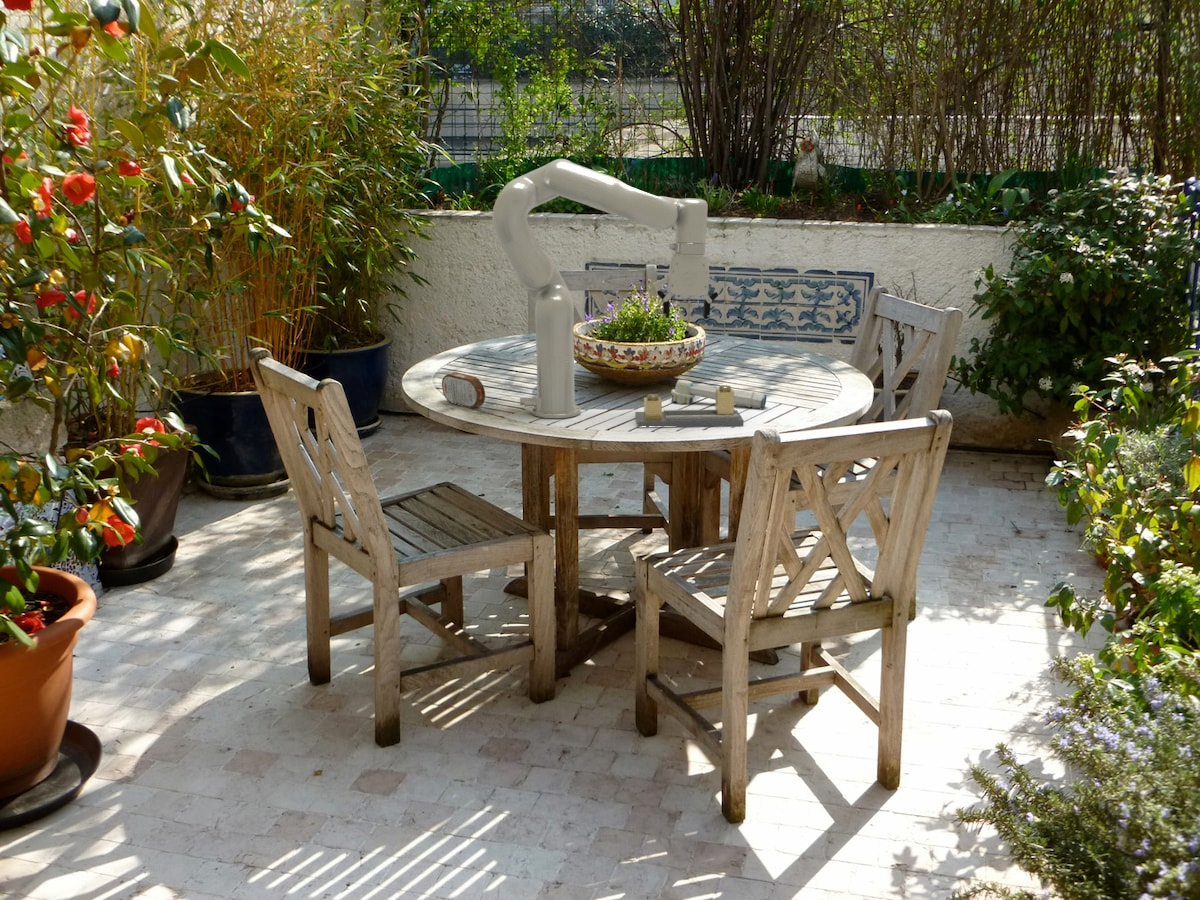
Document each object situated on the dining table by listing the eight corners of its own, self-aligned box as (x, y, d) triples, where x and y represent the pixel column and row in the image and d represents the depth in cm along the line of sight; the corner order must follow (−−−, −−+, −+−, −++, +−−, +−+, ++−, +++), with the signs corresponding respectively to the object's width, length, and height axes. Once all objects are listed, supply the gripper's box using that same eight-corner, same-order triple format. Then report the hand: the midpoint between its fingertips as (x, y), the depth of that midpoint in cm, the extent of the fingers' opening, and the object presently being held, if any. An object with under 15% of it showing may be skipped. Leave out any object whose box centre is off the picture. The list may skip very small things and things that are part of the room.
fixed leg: (645, 418, 293) (645, 397, 291) (644, 414, 296) (644, 393, 295) (661, 418, 293) (661, 396, 291) (659, 414, 297) (660, 393, 295)
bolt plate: (638, 427, 290) (638, 418, 289) (635, 417, 300) (635, 408, 299) (743, 426, 291) (743, 417, 291) (736, 415, 301) (737, 407, 300)
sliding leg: (717, 415, 293) (718, 388, 291) (715, 412, 297) (715, 384, 295) (733, 415, 294) (734, 388, 292) (731, 411, 297) (731, 384, 295)
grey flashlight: (764, 396, 305) (671, 377, 312) (759, 421, 307) (668, 401, 314) (767, 392, 310) (676, 373, 316) (763, 416, 312) (673, 397, 318)
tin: (486, 409, 309) (485, 377, 307) (477, 411, 307) (476, 379, 305) (449, 399, 319) (448, 369, 317) (440, 402, 317) (439, 371, 315)
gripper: (656, 249, 289) (652, 319, 294) (726, 252, 290) (721, 321, 295) (654, 246, 297) (651, 313, 301) (722, 248, 297) (718, 316, 302)
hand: (686, 317), depth 298 cm, fingers open, 9 cm apart
